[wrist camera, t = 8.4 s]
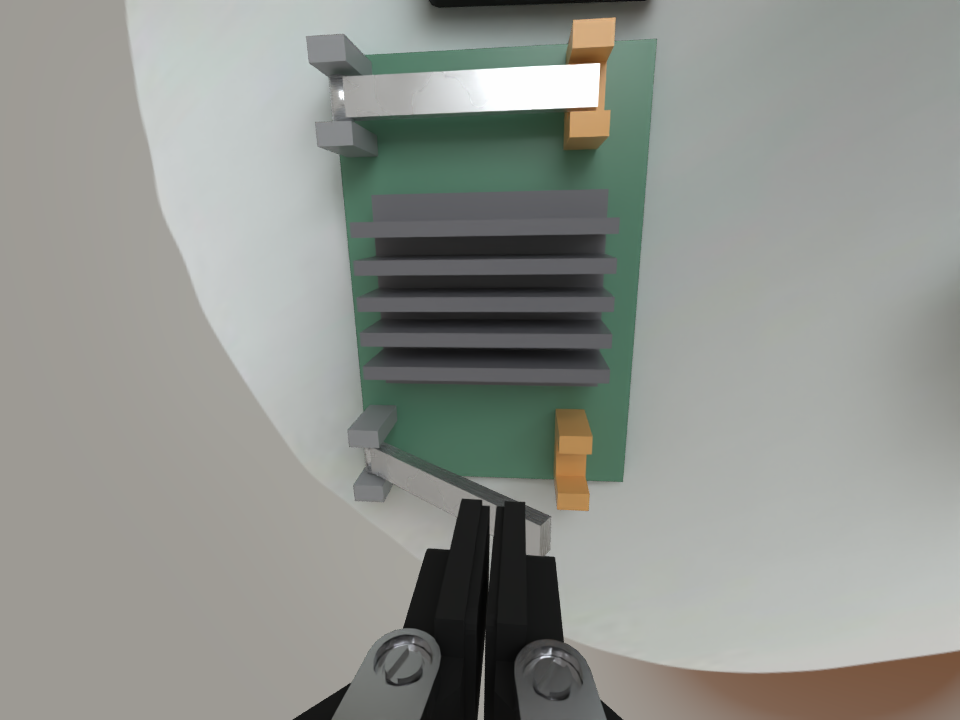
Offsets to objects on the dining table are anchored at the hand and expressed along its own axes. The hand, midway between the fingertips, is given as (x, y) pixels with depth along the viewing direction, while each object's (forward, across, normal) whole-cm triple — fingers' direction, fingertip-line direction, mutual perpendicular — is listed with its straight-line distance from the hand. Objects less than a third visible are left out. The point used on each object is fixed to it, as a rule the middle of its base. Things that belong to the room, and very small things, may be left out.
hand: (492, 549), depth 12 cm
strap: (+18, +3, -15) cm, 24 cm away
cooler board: (+22, +1, -4) cm, 22 cm away
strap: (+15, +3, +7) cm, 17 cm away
